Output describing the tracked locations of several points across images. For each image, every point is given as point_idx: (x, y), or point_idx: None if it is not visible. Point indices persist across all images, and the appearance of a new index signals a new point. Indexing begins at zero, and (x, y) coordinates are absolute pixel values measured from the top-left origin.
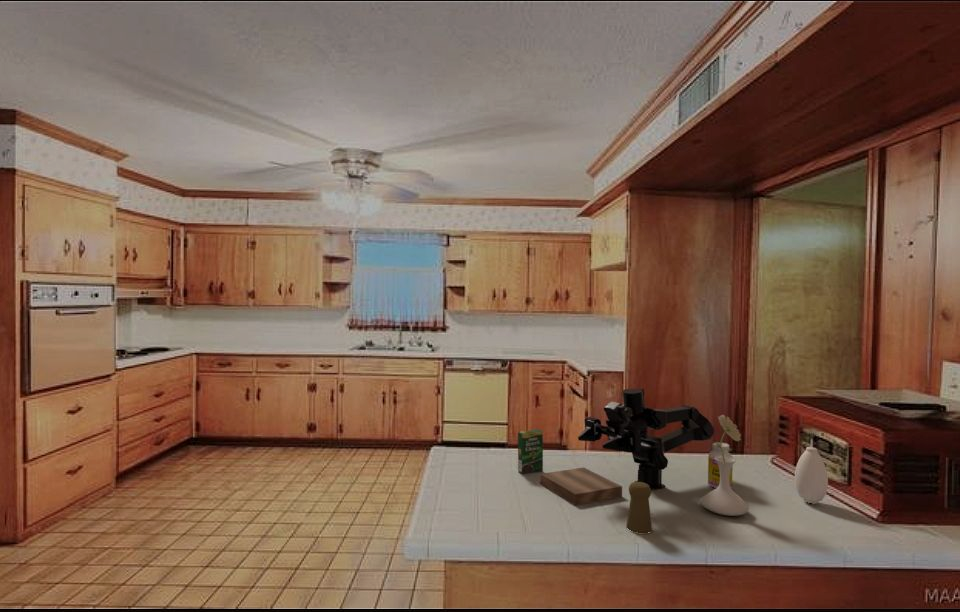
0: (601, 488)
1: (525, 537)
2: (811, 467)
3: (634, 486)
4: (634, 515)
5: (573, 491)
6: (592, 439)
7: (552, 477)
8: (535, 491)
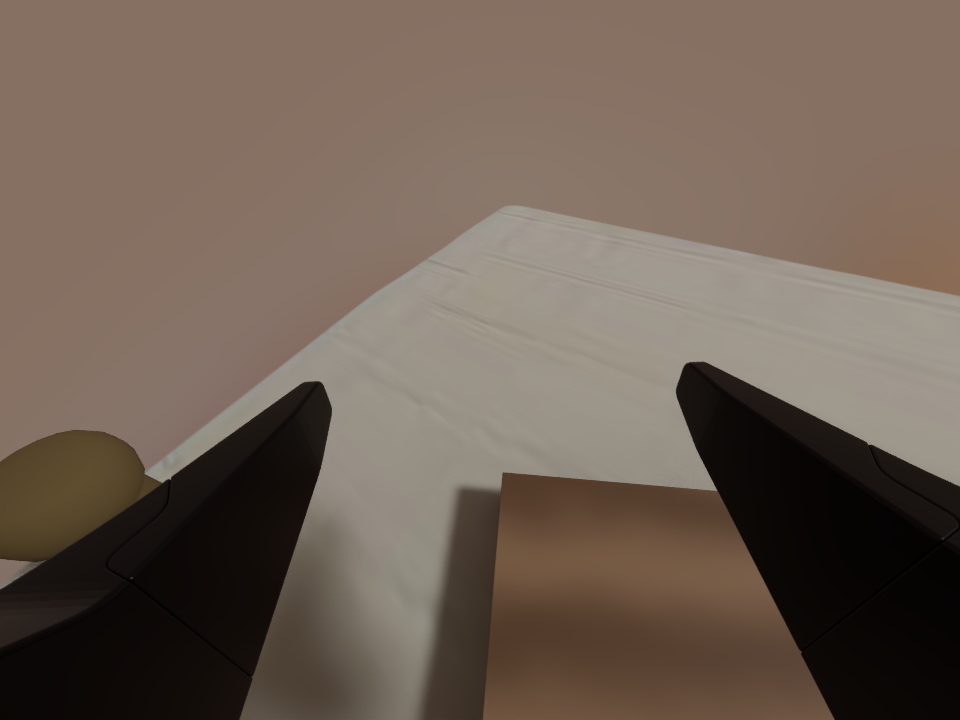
0: (505, 678)
1: (413, 294)
2: None
3: (70, 431)
4: None
5: (534, 486)
6: (839, 690)
7: None
8: (695, 451)
